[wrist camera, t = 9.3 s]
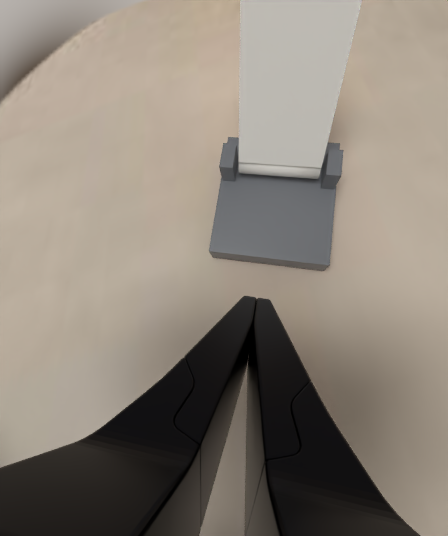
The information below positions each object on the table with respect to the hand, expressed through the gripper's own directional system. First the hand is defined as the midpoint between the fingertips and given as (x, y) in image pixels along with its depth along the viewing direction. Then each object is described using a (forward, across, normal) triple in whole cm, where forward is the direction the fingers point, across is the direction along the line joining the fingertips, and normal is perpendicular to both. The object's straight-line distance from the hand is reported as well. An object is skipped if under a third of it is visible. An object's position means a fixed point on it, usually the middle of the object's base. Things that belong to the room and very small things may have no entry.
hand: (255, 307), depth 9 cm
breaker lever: (+16, 0, -1) cm, 16 cm away
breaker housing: (+16, 0, +3) cm, 17 cm away
